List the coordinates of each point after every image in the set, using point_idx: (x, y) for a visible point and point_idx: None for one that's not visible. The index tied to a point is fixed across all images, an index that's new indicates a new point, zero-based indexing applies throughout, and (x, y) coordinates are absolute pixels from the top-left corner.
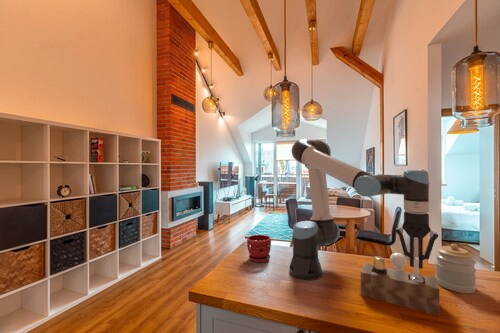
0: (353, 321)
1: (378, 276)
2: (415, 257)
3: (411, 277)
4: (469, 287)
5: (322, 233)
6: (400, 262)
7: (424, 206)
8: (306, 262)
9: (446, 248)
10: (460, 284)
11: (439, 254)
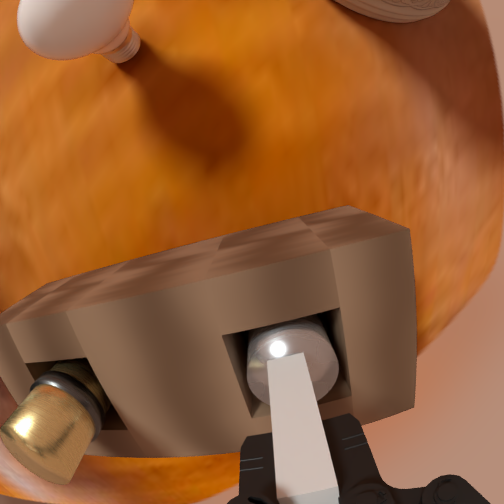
0: (172, 494)
1: (115, 454)
2: (303, 498)
3: (262, 395)
4: (446, 5)
5: None
6: (92, 38)
7: None
8: None
9: None
10: (427, 7)
11: None
